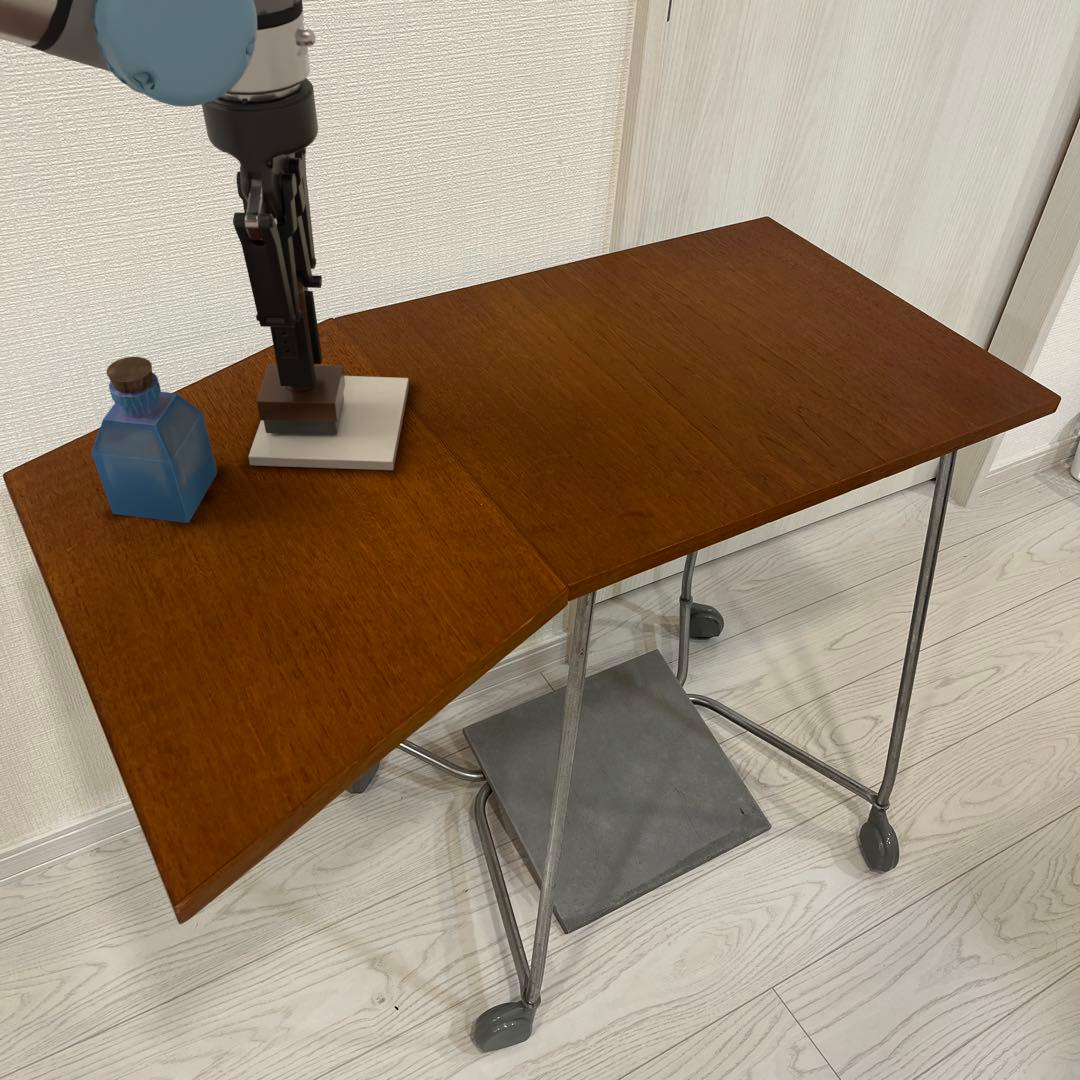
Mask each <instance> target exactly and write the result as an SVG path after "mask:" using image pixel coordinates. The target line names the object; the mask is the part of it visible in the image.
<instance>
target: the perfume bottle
mask: <svg viewBox="0 0 1080 1080" xmlns="http://www.w3.org/2000/svg"><path fill="white" fill-rule="evenodd" d="M106 376H107V377H108V379H109V380H110V381H109V384H108V390H109V393H110V396H111V399H112V401H113V402H114V404H113V405H112V406H111V408H110V409H109V410H108V412H107V413H106V414H105V416H104V417H103V419H102V421H101V424H100V426H99V430H98V432H97V435H96V438H95V442H94V444H93V446H92V450H91V456H92V459H93V462H94V465H95V467H96V470H97V474H98V476H99V478H100V481H101V484H102V487H103V491H104V493H105V495H106V499H107V501H108V504H109V507H110V509H111V512H112V515H120V516H125V517H127V516H128V517H133V518H134V517H135V518H143V519H151V520H159V521H167V522H177V523H184V524H189V523H190V522H191V520H192V518H193V516H194V514H195V513H196V511H197V510H198V508H199V506H200V505H201V503H202V501H203V499H204V497H205V496H206V494H207V491H208V490H209V488H210V487H211V485H212V483H213V482H214V479H215V478H216V476H217V474H218V473H219V472H218V469H217V464H216V461H215V457H214V452H213V448H212V444H211V440H210V437H209V433H208V428H207V425H206V424H207V423H206V421H205V416H204V413H203V411H201V410H199V409H198V407H196V406H194V405H193V404H192V403H191V402H189V401H188V400H186V399H185V398H184V397H182V396H181V395H180V394H178V393H176V392H168V391H161V384H160V382H159V378H158V376H157V374H155V372H153V364H152V362H151V361H150V360H149V359H147V358H146V357H142V356H126V357H123V358H119V359H117V360H115V361H113V362H111V364H110V365H108V367H107V368H106Z"/></svg>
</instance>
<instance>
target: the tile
mask: <svg viewBox="0 0 1080 1080" xmlns="http://www.w3.org/2000/svg"><path fill="white" fill-rule="evenodd" d="M409 379H410V378H408V377H391V376H390V377H389V376H386V377H385V376H363V375H360V376H359V375H344V380H345V387H344V392H343V395H344V402H343V407H342V412H341V417H340V422H339V427H338V432H337V435H329V434H281V433H266V431H265V425H264V421H261V420H260V422H259V425H258V428H257V430H256V433H255V436H254V439H253V441H252V445H251V448H250V451H249V454H248V462H249V466H253V467H254V466H256V467H257V466H259V467H283V468H285V467H287V468H314V469H315V468H317V469H338V470H339V469H340V470H341V469H342V470H372V471H394V469H395V464H396V459H397V453H398V448H399V442H400V438H401V432H402V427H403V421H404V417H405V416H404V415H405V410H406V405H407V400H408V394H409V389H410V381H409Z"/></svg>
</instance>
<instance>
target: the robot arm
mask: <svg viewBox="0 0 1080 1080" xmlns="http://www.w3.org/2000/svg"><path fill="white" fill-rule="evenodd" d="M304 22H305V17H304V5H303V0H0V40H3V41H6V42H11V43H14V44H18V45H21V46H25V47H27V48H30V49H34V50H37V51H40V52H43V53H45V54H48V55H50V56H54V57H58V58H61V59H64V60H68V61H72V62H75V63H79V64H83V65H87V66H89V67H93V68H96V69H100V70H104V71H106V72H110V73H112V74H113V75H114V77H116V79H118V80H119V81H120V82H121V83H122V84H124V85H126V86H127V87H129V88H130V89H131V91H134V92H137V93H139V94H142V95H145V96H146V97H149V98H150V99H152V100H155V101H157V102H159V103H162V104H165V105H169V106H173V107H183V108H184V107H185V108H187V107H196V106H201V109H202V114H203V118H204V124H205V129H206V134H207V138H208V140H209V142H210V143H211V145H212V146H214V147H215V148H216V149H217V150H219V151H220V152H222V153H224V154H225V153H226V154H228V155H230V156H232V157H233V158H234V159H236V161H238V162H239V165H240V166H239V170H238V171H237V172H236V175H235V176H236V177H235V178H236V188H237V194H238V197H239V198H240V199H241V200H242V206H243V212H234V214H233V218H232V224H233V228H234V231H235V233H236V235H237V238H238V240H239V242H240V244H241V248H242V253H243V257H244V262H245V266H246V270H247V275H248V280H249V283H250V288H251V293H252V297H253V302H254V306H255V310H256V315H255V319H256V321H257V322H258V323H259V325H260V327H263V328H265V327H266V328H269V329H270V334H271V339H272V345H273V351H274V356H275V361H276V363H275V364H277V368H278V374H279V379H280V385H281V386H296V387H314V384H315V376H314V370H313V363H312V356H311V350H310V343H309V336H308V329H307V323H306V316H305V313H301V311H300V303H299V294H298V286H297V281H298V282H300V283H302V285H303V287H304V293H305V301H306V308H307V315H308V323H309V330H310V337H311V345H312V352H313V359H314V365H322V362H323V354H322V347H321V340H320V332H319V325H318V319H317V311H316V306H315V298H314V291H313V290H309V289H311V288H313V289H314V288H315V289H321V288H322V284H323V277H322V275H317V274H316V275H313V272H312V271H313V270H315V268H316V267H317V258H316V252H315V243H314V233H313V223H312V217H311V216H312V214H311V207H310V206H311V205H310V197H309V188H308V178H307V159H306V154H307V147H309V146H310V145H311V144H313V142H314V141H315V140H316V139H317V137H318V135H319V134H318V133H319V123H318V114H317V107H316V100H315V99H316V98H315V91H314V89H315V88H314V85H313V84H312V82H311V81H310V80H309V79H308V76H309V75H310V73H311V63H310V56H309V47H312V46H314V45H315V43H316V34H315V32H314V30H312V29H309V28H308V29H307V28H306V29H305V25H304Z"/></svg>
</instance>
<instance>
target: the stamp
mask: <svg viewBox="0 0 1080 1080" xmlns="http://www.w3.org/2000/svg"><path fill="white" fill-rule="evenodd" d="M297 286H298V294H299V303H300V311H301V313H305V316H306V323H307V329H308V336H309V343H310V350H311V356H312V363H313V370H314V376H315V384H314V387H296V386H281V385H280V379H279V374H278V368H277V363H275V364H274V363H268V364H267V367H266V371H265V374H264V377H263V380H262V383H261V385H260V390H259V393H258V396H257V400H256V404H257V405H256V406H257V410H258V415H259V420H260V422H261V421H264V425H265V431H266V433H281V434H329V435H337V432H338V427H339V422H340V417H341V412H342V407H343V402H344V395H343V392H344V387H345V380H344V376H345V372H344V366H343V365H328V366H325V365H326V364H314V359H313V352H312V345H311V337H310V330H309V323H308V315H307V308H306V301H305V293H304V287H303V285H302V283H300V282H298V281H297Z"/></svg>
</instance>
